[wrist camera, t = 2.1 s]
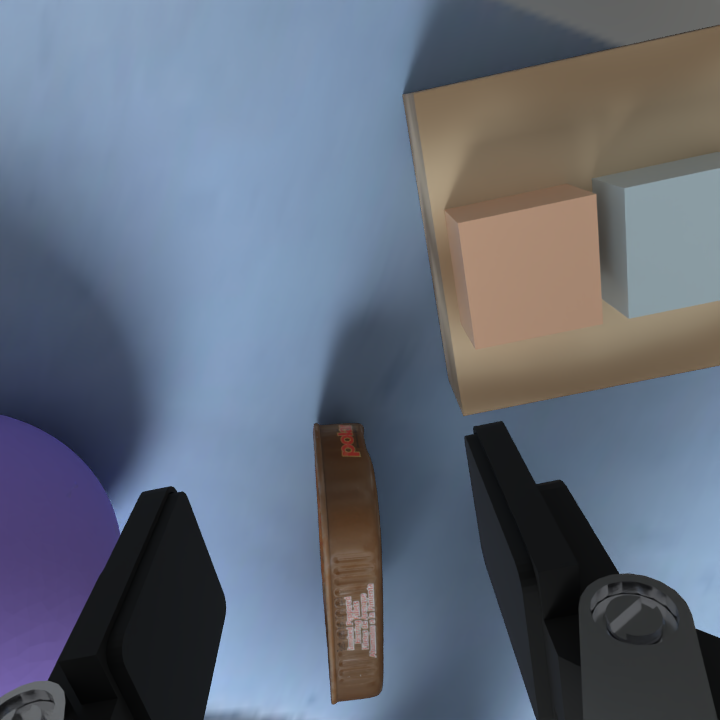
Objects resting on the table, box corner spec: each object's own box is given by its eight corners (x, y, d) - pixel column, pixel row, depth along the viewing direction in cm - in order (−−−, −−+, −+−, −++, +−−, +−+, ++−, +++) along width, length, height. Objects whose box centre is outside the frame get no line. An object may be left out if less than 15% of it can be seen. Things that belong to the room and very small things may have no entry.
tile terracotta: (575, 300, 27) (602, 323, 24) (460, 324, 27) (475, 349, 24) (567, 183, 25) (596, 194, 22) (443, 209, 25) (457, 223, 22)
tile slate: (714, 272, 26) (758, 292, 24) (598, 296, 27) (628, 318, 24) (717, 152, 24) (766, 158, 22) (591, 178, 25) (624, 188, 22)
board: (717, 326, 32) (767, 356, 28) (448, 380, 32) (463, 416, 29) (725, 23, 26) (788, 10, 23) (402, 94, 27) (413, 93, 23)
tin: (311, 394, 32) (304, 487, 25) (371, 392, 32) (383, 484, 25) (323, 613, 38) (321, 744, 30) (374, 611, 38) (385, 740, 31)
